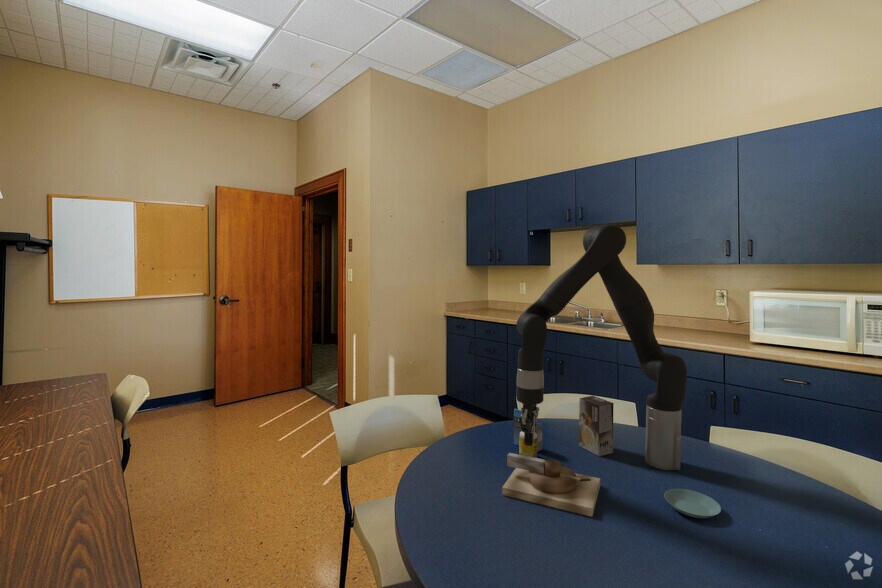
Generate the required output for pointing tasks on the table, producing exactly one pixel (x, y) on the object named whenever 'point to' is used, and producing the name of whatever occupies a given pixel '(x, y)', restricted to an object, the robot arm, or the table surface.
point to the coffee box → (596, 425)
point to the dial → (545, 473)
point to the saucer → (692, 503)
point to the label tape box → (518, 429)
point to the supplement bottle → (526, 449)
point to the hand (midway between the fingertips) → (528, 444)
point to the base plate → (572, 501)
